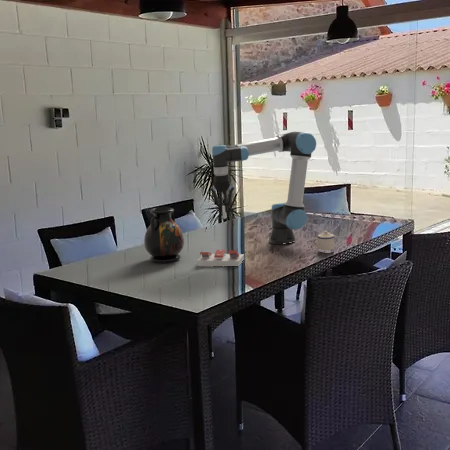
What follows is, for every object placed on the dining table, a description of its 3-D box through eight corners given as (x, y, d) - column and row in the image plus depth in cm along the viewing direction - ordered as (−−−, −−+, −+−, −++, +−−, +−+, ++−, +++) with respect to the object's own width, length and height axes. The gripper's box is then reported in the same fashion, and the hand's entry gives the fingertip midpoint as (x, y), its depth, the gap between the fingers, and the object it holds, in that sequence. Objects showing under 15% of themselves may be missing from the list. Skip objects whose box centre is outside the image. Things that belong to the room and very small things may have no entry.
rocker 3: (238, 259, 303) (239, 255, 305) (236, 255, 298) (237, 250, 299) (230, 259, 304) (231, 254, 306) (228, 255, 299) (228, 250, 300)
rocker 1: (211, 257, 308) (211, 252, 308) (208, 257, 302) (208, 252, 302) (203, 257, 309) (203, 252, 309) (199, 257, 303) (200, 252, 303)
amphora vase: (169, 267, 303) (165, 214, 298) (137, 263, 315) (133, 211, 309) (193, 257, 321) (190, 206, 315) (162, 253, 332) (158, 204, 327)
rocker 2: (225, 254, 307) (225, 249, 306) (222, 260, 301) (222, 255, 300) (217, 254, 308) (216, 249, 307) (214, 260, 302) (214, 255, 301)
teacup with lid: (336, 250, 320) (336, 229, 318) (330, 254, 313) (330, 233, 311) (316, 248, 327) (316, 228, 324) (309, 252, 319) (309, 231, 317)
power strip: (244, 259, 311) (244, 253, 310) (239, 266, 298) (238, 260, 297) (204, 259, 316) (203, 253, 315) (197, 266, 303) (196, 260, 302)
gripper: (207, 176, 308) (211, 220, 314) (231, 175, 306) (235, 219, 311) (210, 174, 316) (214, 217, 321) (234, 172, 313) (238, 216, 318)
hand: (224, 218), depth 316 cm, fingers closed
